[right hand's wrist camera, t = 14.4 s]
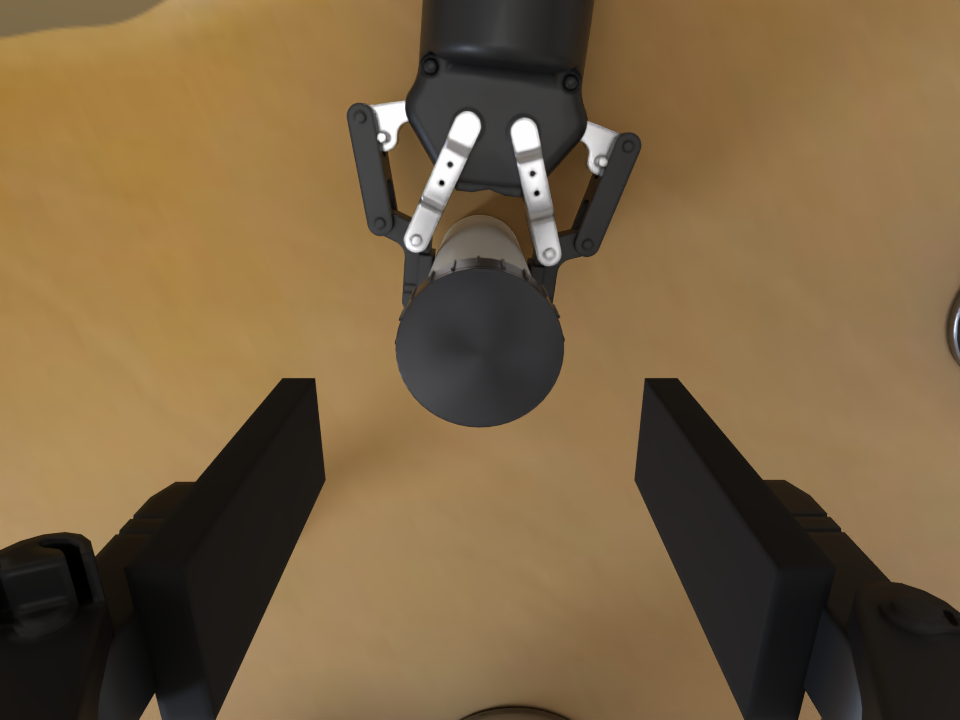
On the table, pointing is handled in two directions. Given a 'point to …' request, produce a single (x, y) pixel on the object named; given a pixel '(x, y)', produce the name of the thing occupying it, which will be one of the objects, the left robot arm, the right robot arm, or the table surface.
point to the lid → (479, 343)
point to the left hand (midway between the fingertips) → (474, 324)
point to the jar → (479, 242)
